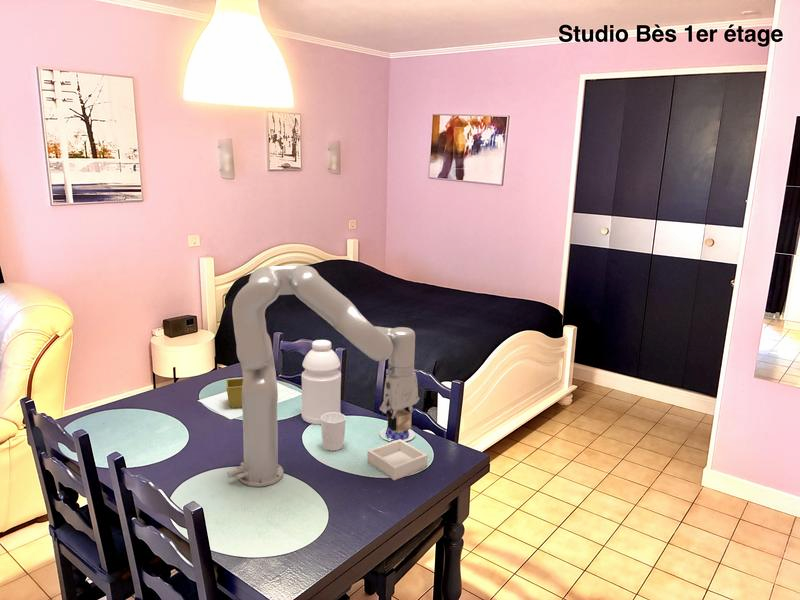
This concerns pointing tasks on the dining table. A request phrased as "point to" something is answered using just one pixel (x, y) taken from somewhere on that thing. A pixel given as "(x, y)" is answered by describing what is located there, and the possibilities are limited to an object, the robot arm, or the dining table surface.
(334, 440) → the white cup
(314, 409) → the white bottle
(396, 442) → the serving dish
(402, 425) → the beech cube
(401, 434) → the pudding
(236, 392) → the flower pot
